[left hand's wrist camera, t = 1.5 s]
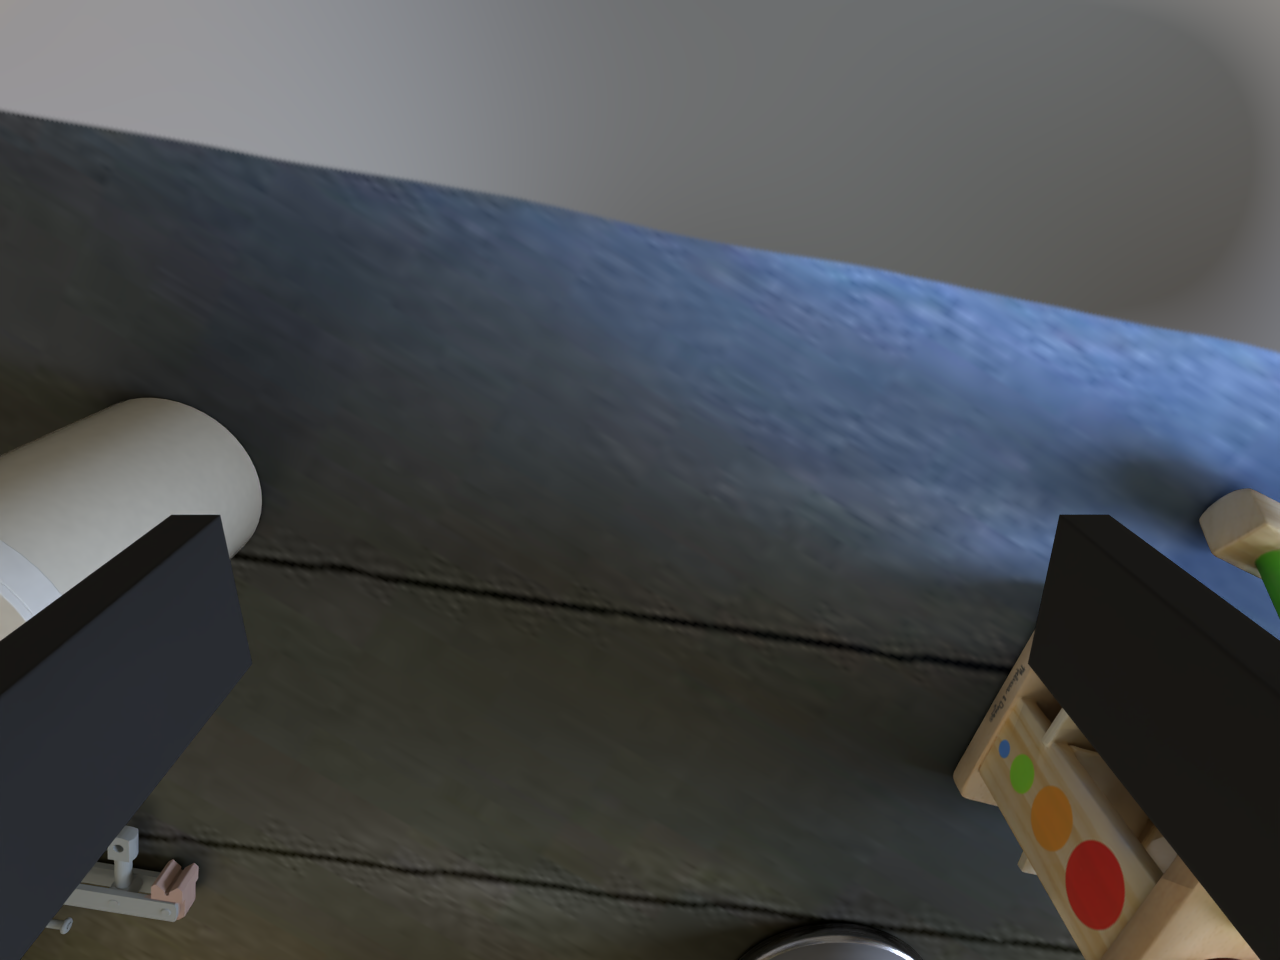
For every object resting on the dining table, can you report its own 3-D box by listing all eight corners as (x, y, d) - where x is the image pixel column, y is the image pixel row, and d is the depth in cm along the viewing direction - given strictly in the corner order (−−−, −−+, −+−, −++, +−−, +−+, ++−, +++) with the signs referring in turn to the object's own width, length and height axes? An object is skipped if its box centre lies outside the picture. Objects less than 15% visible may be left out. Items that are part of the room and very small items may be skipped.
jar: (36, 463, 42) (-307, 630, 27) (165, 360, 40) (-126, 478, 25) (173, 596, 45) (-65, 815, 30) (300, 507, 43) (114, 693, 28)
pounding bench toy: (1133, 448, 41) (1469, 638, 24) (1368, 519, 43) (1834, 744, 26) (947, 780, 49) (1104, 1093, 33) (1149, 830, 51) (1399, 1153, 34)
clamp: (182, 857, 49) (179, 968, 52) (200, 829, 51) (197, 937, 54) (-74, 815, 47) (-58, 931, 51) (-44, 788, 49) (-31, 901, 53)
